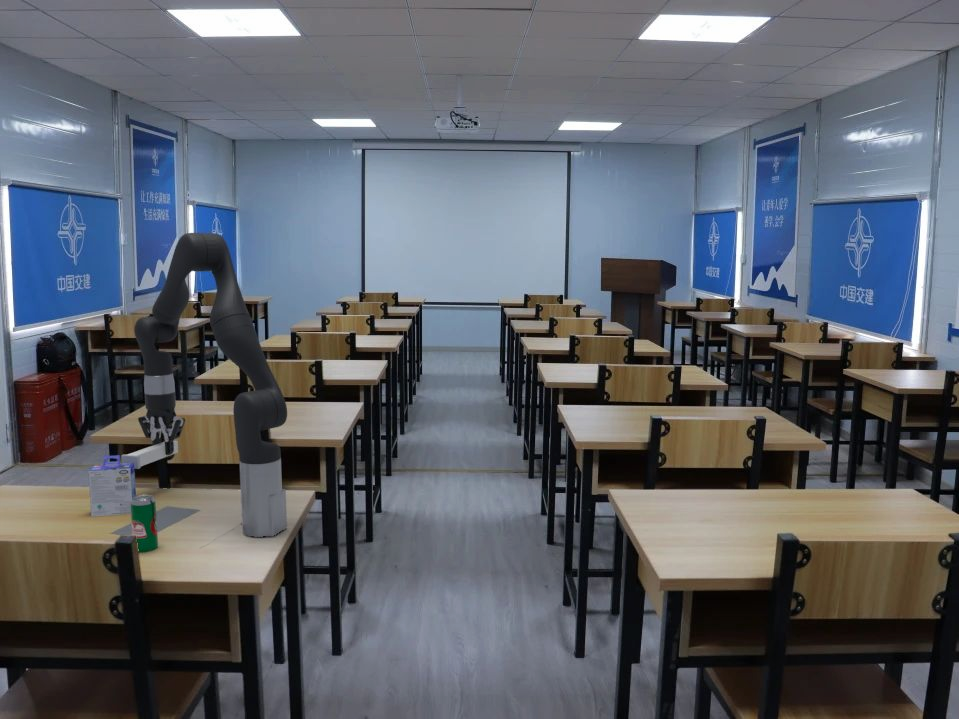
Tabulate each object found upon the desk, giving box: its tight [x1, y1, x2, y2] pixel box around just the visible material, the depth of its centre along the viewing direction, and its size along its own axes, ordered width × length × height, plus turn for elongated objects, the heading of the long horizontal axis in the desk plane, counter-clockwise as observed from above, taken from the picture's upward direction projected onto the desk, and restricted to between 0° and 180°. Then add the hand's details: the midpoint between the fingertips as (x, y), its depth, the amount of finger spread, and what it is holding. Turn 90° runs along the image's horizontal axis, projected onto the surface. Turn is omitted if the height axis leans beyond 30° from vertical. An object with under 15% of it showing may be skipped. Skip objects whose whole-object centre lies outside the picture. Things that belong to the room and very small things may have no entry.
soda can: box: [130, 494, 159, 553], centre depth 173 cm, size 5×5×12 cm
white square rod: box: [120, 440, 179, 470], centre depth 210 cm, size 5×17×3 cm, turn 163°
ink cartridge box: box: [87, 454, 137, 517], centre depth 197 cm, size 10×6×14 cm, turn 105°
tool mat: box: [109, 505, 201, 536], centre depth 190 cm, size 10×20×1 cm, turn 163°
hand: (163, 453), depth 214 cm, fingers closed on white square rod, 3 cm apart
